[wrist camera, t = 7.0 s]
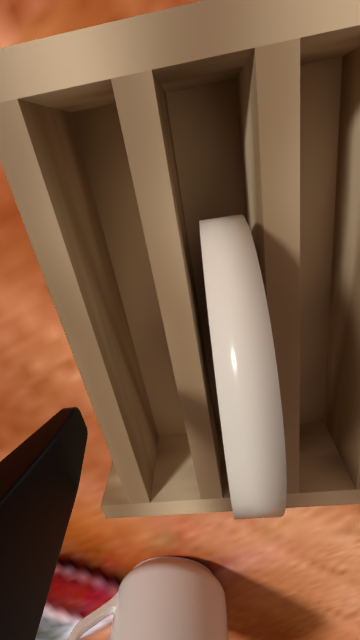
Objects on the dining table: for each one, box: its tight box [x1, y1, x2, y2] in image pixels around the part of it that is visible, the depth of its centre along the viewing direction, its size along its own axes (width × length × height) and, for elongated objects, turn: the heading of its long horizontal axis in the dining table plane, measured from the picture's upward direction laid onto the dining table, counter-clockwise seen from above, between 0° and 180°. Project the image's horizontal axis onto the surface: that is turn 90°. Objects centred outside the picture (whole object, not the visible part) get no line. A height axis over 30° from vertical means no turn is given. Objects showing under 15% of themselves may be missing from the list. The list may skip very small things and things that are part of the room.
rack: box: [0, 0, 360, 518], centre depth 13 cm, size 14×18×5 cm
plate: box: [199, 214, 287, 519], centre depth 11 cm, size 1×9×9 cm, turn 9°
